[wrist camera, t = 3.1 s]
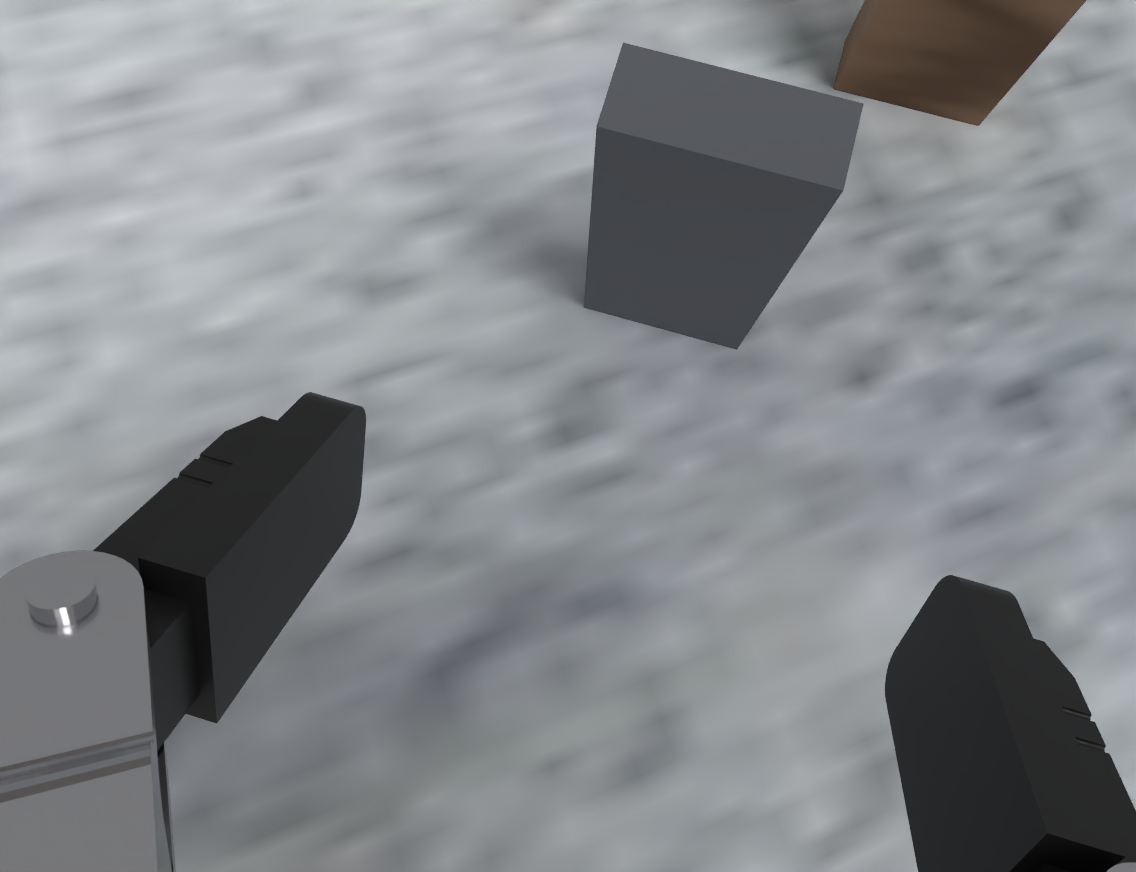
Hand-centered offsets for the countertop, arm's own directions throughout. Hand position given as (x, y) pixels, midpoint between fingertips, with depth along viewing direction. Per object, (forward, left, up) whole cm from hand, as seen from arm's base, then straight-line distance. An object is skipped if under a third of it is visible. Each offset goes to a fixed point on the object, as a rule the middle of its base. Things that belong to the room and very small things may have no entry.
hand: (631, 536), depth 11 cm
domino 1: (0, -9, -13) cm, 15 cm away
